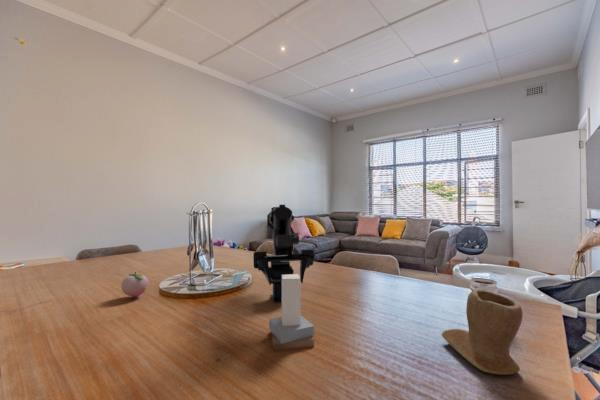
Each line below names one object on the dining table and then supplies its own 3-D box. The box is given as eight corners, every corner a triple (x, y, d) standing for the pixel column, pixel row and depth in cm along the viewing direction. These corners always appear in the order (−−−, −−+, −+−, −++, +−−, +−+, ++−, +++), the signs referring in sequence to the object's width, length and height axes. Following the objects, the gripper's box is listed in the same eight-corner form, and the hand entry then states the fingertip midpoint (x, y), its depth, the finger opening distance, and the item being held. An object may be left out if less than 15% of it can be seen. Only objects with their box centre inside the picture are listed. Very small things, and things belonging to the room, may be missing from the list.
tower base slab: (271, 334, 76) (270, 325, 76) (306, 331, 78) (306, 322, 78) (274, 353, 67) (273, 343, 67) (314, 349, 68) (314, 339, 68)
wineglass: (490, 329, 76) (489, 285, 76) (465, 320, 82) (464, 279, 82) (503, 323, 79) (502, 282, 79) (479, 315, 85) (478, 276, 85)
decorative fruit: (115, 300, 103) (115, 273, 104) (136, 293, 111) (135, 268, 111) (133, 303, 100) (132, 275, 100) (152, 296, 108) (152, 270, 108)
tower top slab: (269, 328, 74) (269, 319, 75) (299, 322, 78) (299, 313, 78) (281, 343, 66) (281, 333, 66) (314, 335, 70) (313, 325, 70)
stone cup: (539, 379, 54) (537, 303, 54) (479, 380, 54) (478, 304, 54) (487, 341, 69) (485, 281, 70) (440, 341, 69) (439, 282, 70)
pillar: (281, 318, 75) (281, 274, 75) (298, 318, 75) (298, 274, 75) (282, 326, 70) (282, 279, 70) (300, 325, 71) (300, 278, 71)
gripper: (253, 224, 83) (253, 270, 72) (313, 223, 86) (322, 266, 75) (253, 246, 91) (253, 290, 80) (309, 244, 94) (316, 286, 83)
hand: (286, 283), depth 79 cm, fingers open, 9 cm apart
